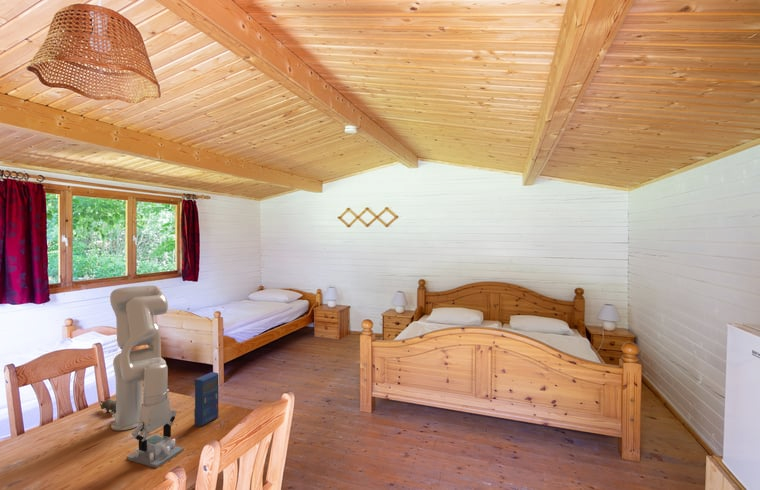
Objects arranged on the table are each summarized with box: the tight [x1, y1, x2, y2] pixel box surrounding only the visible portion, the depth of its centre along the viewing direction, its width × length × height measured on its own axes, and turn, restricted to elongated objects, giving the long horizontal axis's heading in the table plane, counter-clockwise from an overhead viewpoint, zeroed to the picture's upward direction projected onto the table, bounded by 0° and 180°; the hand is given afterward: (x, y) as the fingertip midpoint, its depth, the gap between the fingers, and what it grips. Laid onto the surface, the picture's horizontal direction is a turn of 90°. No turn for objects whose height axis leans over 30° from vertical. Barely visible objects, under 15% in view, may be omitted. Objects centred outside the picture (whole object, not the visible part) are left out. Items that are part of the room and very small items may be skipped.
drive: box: [140, 433, 172, 460], centre depth 131 cm, size 9×6×5 cm, turn 65°
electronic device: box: [193, 371, 219, 427], centre depth 156 cm, size 10×5×20 cm, turn 159°
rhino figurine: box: [99, 398, 116, 415], centre depth 164 cm, size 4×14×6 cm, turn 69°
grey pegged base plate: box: [126, 438, 185, 469], centre depth 131 cm, size 15×11×4 cm
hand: (155, 443), depth 131 cm, fingers open, 9 cm apart
